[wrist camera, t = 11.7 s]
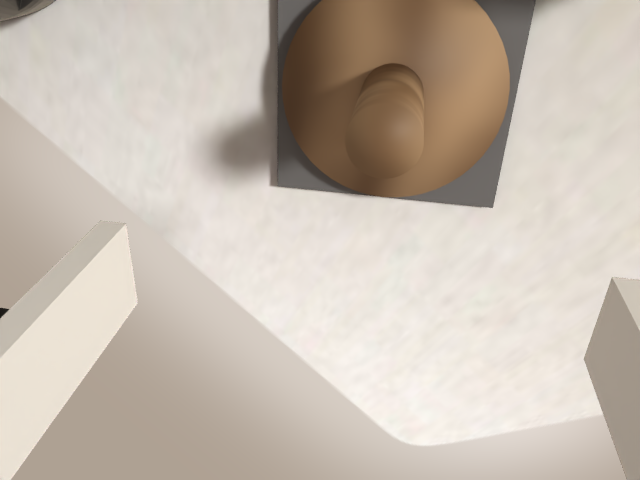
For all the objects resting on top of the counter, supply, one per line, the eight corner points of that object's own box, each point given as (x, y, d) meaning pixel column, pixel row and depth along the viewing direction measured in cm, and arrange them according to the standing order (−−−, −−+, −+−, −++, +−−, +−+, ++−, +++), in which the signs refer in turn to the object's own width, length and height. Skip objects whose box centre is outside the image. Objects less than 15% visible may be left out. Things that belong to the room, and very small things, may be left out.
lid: (284, 180, 39) (249, 248, 31) (286, -37, 32) (242, -20, 24) (485, 200, 37) (501, 277, 29) (529, -24, 31) (565, -1, 23)
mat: (279, 182, 39) (277, 185, 39) (280, -49, 32) (278, -49, 32) (491, 203, 38) (492, 207, 37) (540, -36, 31) (542, -35, 30)
